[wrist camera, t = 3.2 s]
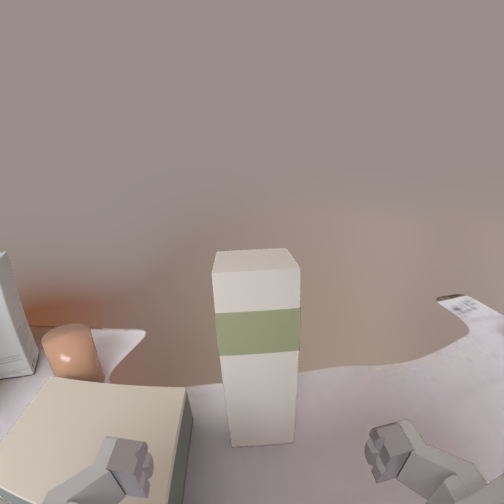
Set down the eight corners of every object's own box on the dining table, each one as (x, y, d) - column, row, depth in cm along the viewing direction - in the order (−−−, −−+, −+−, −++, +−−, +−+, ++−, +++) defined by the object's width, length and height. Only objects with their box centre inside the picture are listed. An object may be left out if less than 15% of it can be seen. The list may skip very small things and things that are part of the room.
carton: (285, 404, 26) (286, 247, 22) (294, 442, 21) (301, 268, 17) (231, 407, 25) (216, 251, 22) (231, 447, 20) (210, 273, 17)
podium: (193, 419, 24) (185, 387, 23) (177, 555, 10) (159, 536, 9) (63, 406, 23) (50, 375, 22) (8, 503, 10) (-20, 474, 9)
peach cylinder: (111, 368, 31) (98, 324, 30) (93, 399, 25) (76, 351, 24) (71, 364, 31) (57, 322, 29) (50, 391, 25) (32, 346, 23)
